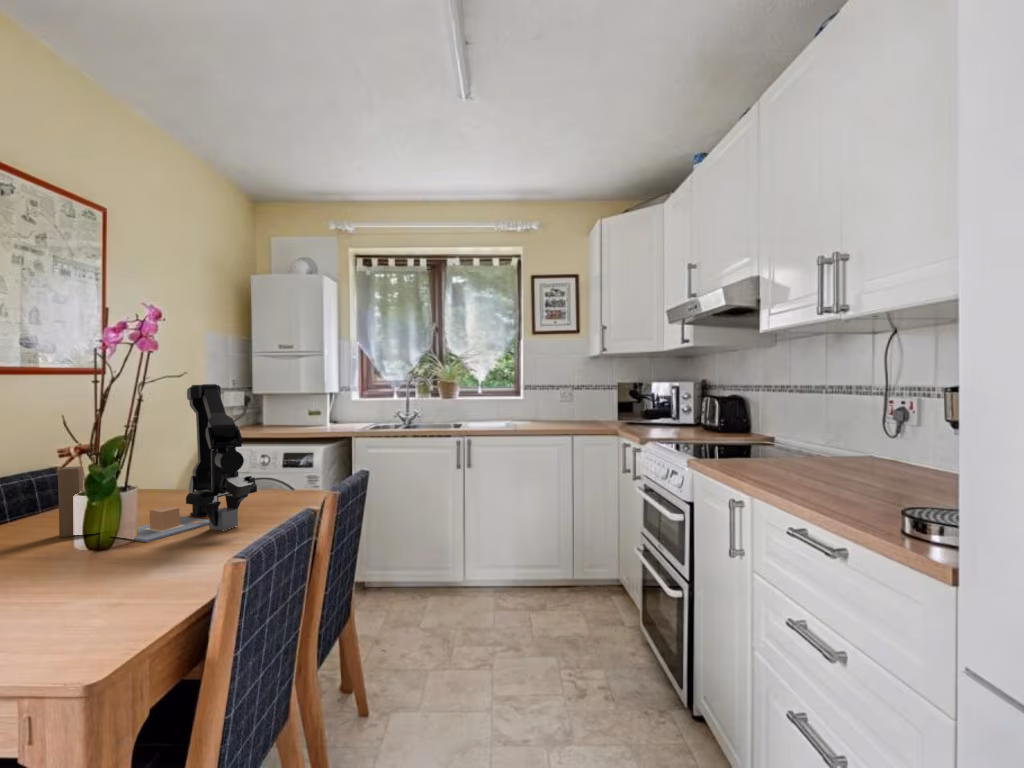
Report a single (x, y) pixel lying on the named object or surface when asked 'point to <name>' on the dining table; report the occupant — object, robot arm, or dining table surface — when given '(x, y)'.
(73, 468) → the wooden block
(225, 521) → the charcoal cube
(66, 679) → the dining table surface
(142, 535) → the board
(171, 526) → the terracotta cube
